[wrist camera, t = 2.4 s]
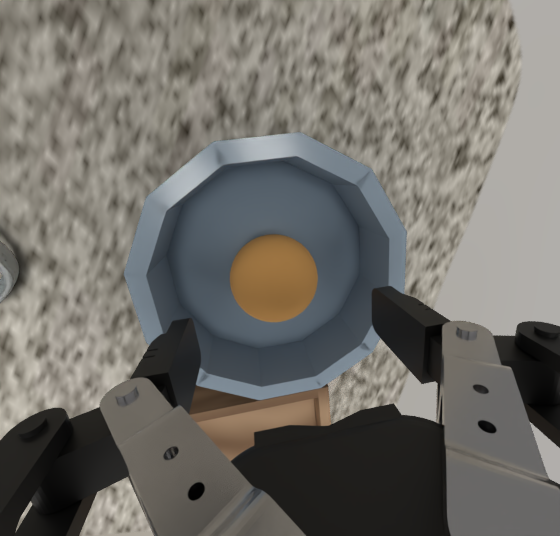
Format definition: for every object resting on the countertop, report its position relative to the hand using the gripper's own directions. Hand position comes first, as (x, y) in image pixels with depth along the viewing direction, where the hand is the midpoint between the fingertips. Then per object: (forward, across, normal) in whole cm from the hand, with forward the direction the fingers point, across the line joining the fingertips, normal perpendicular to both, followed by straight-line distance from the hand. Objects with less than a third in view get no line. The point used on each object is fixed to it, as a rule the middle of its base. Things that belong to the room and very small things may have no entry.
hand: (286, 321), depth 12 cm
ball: (+5, 0, 0) cm, 5 cm away
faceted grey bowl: (+8, 0, 0) cm, 8 cm away
